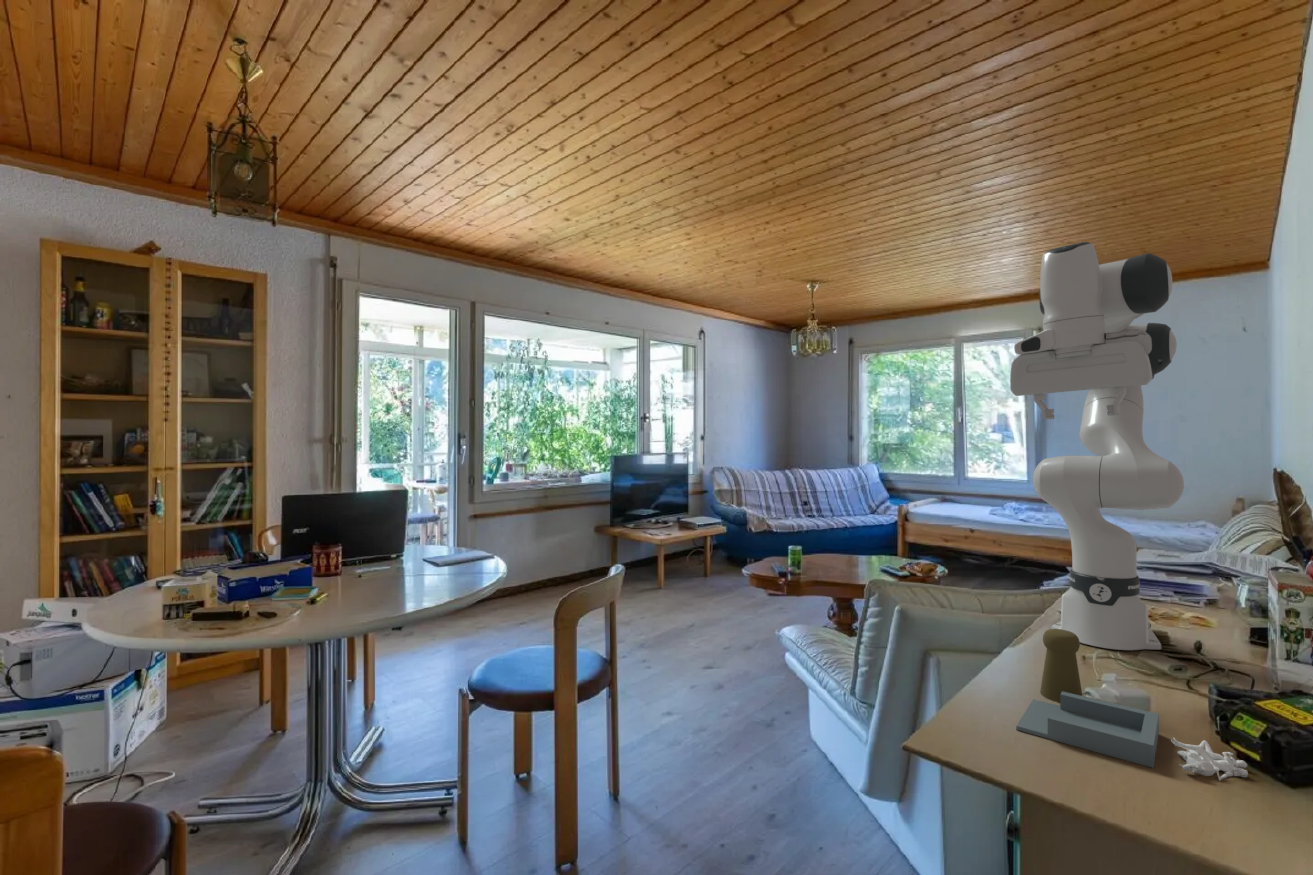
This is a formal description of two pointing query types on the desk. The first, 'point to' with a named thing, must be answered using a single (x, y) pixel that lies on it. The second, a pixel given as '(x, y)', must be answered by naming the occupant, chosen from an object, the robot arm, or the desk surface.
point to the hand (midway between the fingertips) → (1080, 417)
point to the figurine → (1210, 761)
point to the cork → (1060, 664)
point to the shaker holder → (1095, 727)
